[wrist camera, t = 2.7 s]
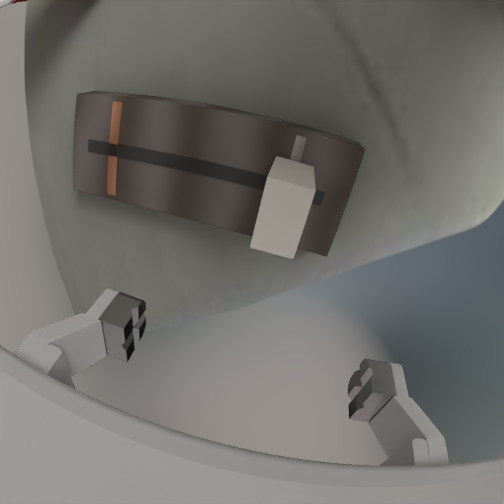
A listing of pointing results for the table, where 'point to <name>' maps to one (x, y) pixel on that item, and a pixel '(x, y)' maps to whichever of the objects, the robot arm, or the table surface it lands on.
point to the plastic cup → (9, 2)
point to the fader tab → (284, 207)
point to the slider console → (205, 161)
